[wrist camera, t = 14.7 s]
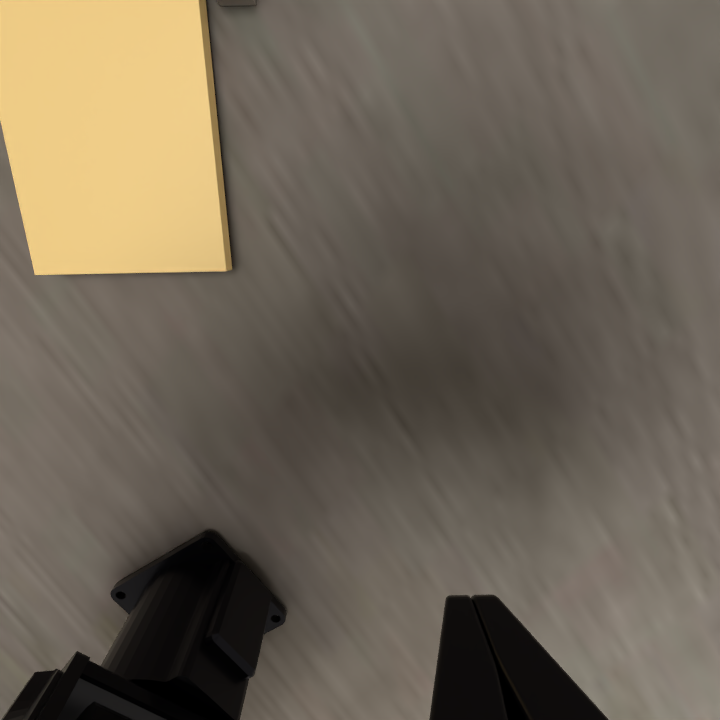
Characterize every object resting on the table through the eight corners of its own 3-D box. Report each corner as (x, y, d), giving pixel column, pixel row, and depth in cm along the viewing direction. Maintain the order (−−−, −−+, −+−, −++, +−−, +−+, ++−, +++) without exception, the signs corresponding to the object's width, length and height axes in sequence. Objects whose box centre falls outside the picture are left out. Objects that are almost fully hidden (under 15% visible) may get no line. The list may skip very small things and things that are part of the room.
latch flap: (232, 269, 17) (226, 271, 16) (49, 272, 17) (34, 274, 16) (203, -26, 14) (194, -41, 13) (-14, -23, 14) (-35, -37, 13)
